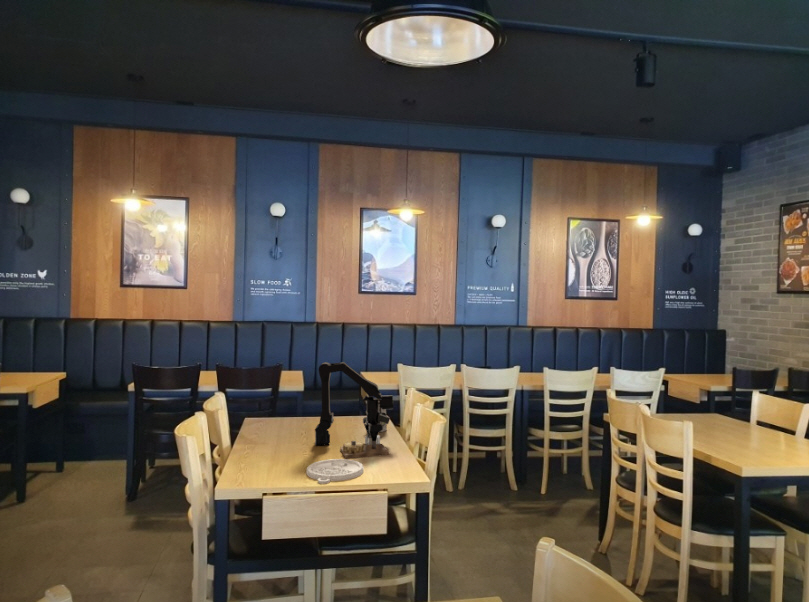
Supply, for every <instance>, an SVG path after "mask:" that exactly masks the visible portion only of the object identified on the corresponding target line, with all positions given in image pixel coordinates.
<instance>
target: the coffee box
mask: <svg viewBox="0 0 809 602" xmlns="http://www.w3.org/2000/svg"><path fill="white" fill-rule="evenodd" d="M378 411H379V412H380V414H381V413H382V412H384V413H386V414H387V409H382V408H381V407H380V401H378ZM380 424H381V425H382V426H383V430H381V431H380V432H379V433H383V432H385V431H387V427H388V426H387V425H388V424H386V423H384V422H380Z"/></svg>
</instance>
